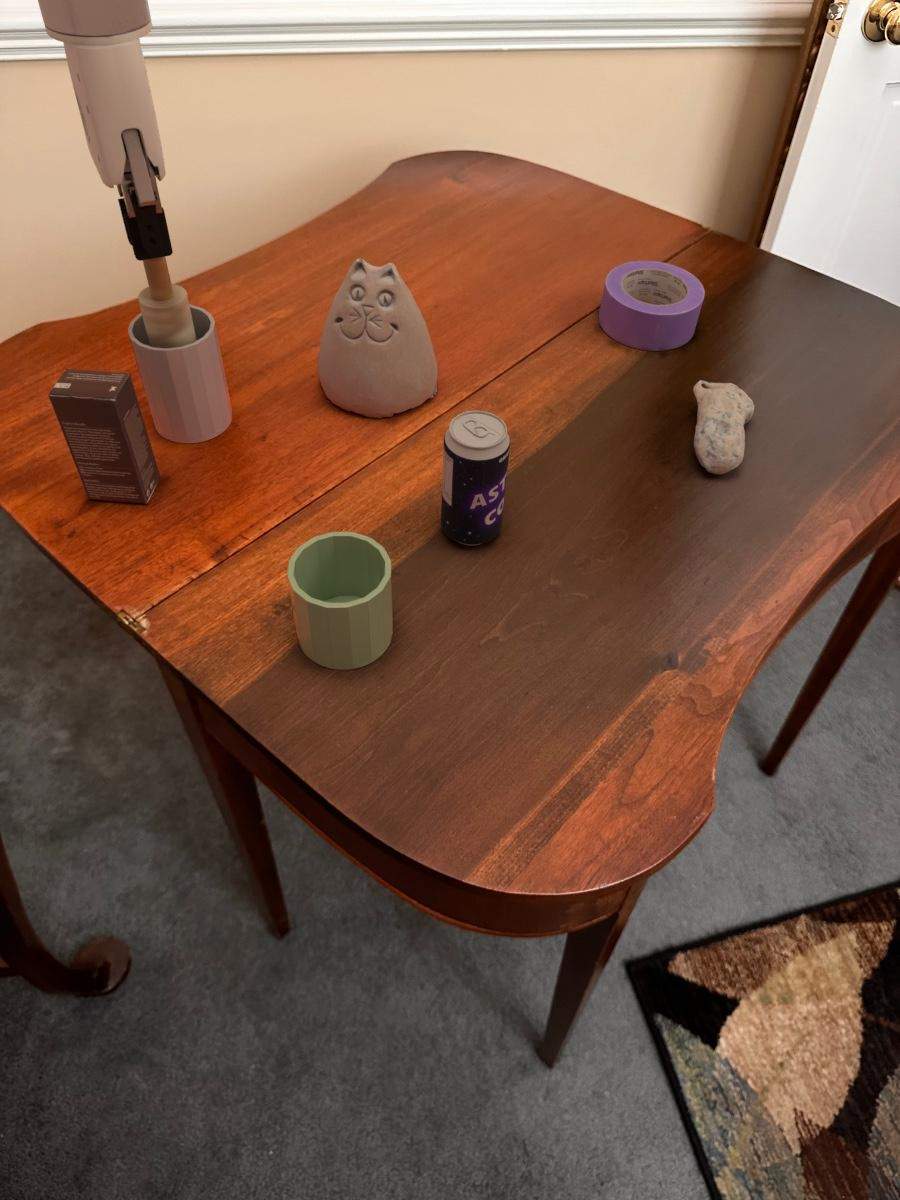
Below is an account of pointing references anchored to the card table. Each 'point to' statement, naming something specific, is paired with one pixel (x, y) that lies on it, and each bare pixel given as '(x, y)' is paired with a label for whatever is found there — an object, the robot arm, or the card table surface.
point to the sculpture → (376, 345)
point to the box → (106, 435)
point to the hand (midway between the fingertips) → (150, 247)
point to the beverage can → (474, 477)
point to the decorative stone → (721, 425)
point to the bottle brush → (165, 307)
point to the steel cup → (184, 382)
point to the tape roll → (650, 305)
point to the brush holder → (342, 599)
